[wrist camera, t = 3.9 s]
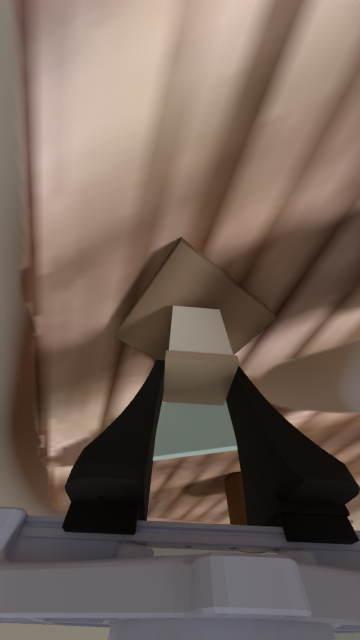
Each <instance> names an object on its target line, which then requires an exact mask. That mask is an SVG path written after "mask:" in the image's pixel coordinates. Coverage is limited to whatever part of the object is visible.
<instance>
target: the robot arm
mask: <svg viewBox="0 0 360 640" xmlns="http://www.w3.org/2000/svg"><path fill="white" fill-rule="evenodd" d="M164 376H165V360H156V361H155V364H154V366H153V368H152V370H151V372H150V374H149V376H148V378H147V379H146V381H145V383H144V384H143V386H142V387H141V389H140V390H139V392H138V393H137V394H136V396H135V397H134V399H133V400H132V401H131V402H130V404H129V405H128V406H127V407H126V408H125V410H124V411H123V412H122V413H121V414H120V415H119V416H118V417H117V418H116V419H115V421H114V422H112V423H111V424H110V425H109V426H108V427H107V428H106V429H105V430H104V431H103V432H102V433H101V434H100V435H99V436H98V437H97V438H96V439H94V440H93V441H92V442H91V443H90V444H89V445H87V446H86V447H85V448H84V449H83V451H82V452H81V454H80V455H79V457H78V459H77V461H76V462H75V464H74V466H73V468H72V470H71V473H70V475H69V477H68V480H67V482H66V485H65V490H66V493H67V494H68V496H69V498H70V500H71V504H70V507H69V509H68V512H67V515H66V517H56V516H35V515H27V512H26V511H25V510H24V509H21V508H16V507H0V623H22V624H44V625H47V624H48V625H68V626H90V627H110V631H109V637H108V640H336V638H335V635H334V633H360V531H355V530H354V529H353V527H352V525H351V523H350V522H349V520H348V518H347V516H350V514H349V511H348V510H347V508H346V506H345V504H346V503H348V502H349V501H350V500H352V499H353V498H355V497H356V496H357V495H358V493H359V491H360V488H359V486H358V484H357V483H356V481H355V479H354V478H353V476H352V475H351V473H350V472H349V470H348V468H347V467H346V466H345V464H344V463H342V462H341V461H339V460H338V459H336V458H335V457H334V456H332V455H331V454H329V453H328V452H326V451H325V450H323V449H322V448H321V447H319V446H318V445H317V444H315V443H314V442H313V441H311V440H310V439H309V438H307V437H306V436H305V435H304V434H302V433H301V432H300V431H299V430H298V429H296V428H295V427H294V426H293V425H292V424H291V423H290V422H288V421H287V420H286V419H285V418H284V417H283V416H282V415H281V414H280V413H279V412H278V411H277V410H276V409H275V408H274V407H273V406H272V405H271V404H270V403H269V402H268V401H267V400H266V399H265V398H264V396H263V395H262V394H261V393H260V392H259V391H258V389H257V388H256V387H255V386H254V384H253V383H252V382H251V381H250V379H249V378H248V377H247V376H246V374H245V373H244V372H243V370H242V369H241V368H240V367H239V366H238V368H237V371H236V374H235V376H234V379H233V381H232V384H231V386H230V389H229V392H228V395H227V397H226V403H227V407H228V411H229V414H230V418H231V422H232V426H233V430H234V433H235V438H236V443H237V449H238V455H239V461H240V468H241V475H242V483H243V491H244V499H245V509H246V518H247V525H227V524H205V523H184V522H163V521H147V512H148V503H149V493H150V484H151V474H152V465H153V456H154V447H155V438H156V431H157V426H158V420H159V415H160V410H161V405H162V400H163V392H164ZM146 547H153V548H176V549H200V550H222V551H223V550H224V551H246V552H270V553H277V554H254V553H229V552H210V553H205V554H191V555H170V556H153V554H154V551H153V550H152V549H151V548H146Z"/></svg>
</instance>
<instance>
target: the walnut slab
mask: <svg viewBox="0 0 360 640" xmlns="http://www.w3.org/2000/svg"><path fill="white" fill-rule="evenodd" d="M173 306H184V307H195V308H207V309H219V310H220V313H221V316H222V319H223V323H224V326H225V329H226V332H227V336H228V339H229V342H230V346H231V349H232V352H233V355H234V354H235V353H237V352H238V351H239V350H240V349H241V348H242V347H244V346H245V345H246V344H247V343H248V342H249V341H251V340H252V339H253V338H254V337H255V336H256V335H258V334H259V333H260V332H261V331H262V330H263V329H265V328H266V327H267V326H268V325H269V324H270V323H272V322H273V321H274V320H275V319H276V317H275V315H274V314H273V313H272V312H271V311H270V310H269V308H268V307H267V306H266V305H265V304H263V303H262V302H261V301H260V300H258V299H257V298H256V297H255V296H253V295H252V294H251V293H250V292H249V291H247V290H246V289H245V288H244V287H242V286H241V285H240V284H239V283H237V282H236V281H235V280H234V279H233V278H231V277H230V276H229V275H228V274H226V273H225V272H224V271H223V270H221V269H220V268H219V267H218V266H216V265H215V264H214V263H213V262H212V261H210V260H209V259H208V258H207V257H205V256H204V255H203V254H202V253H200V252H199V251H198V250H197V249H195V248H194V247H193V246H192V245H191V244H189V243H188V242H187V241H186V240H184V239H183V238H182V237H181V238H180V239H179V241H178V242H177V244H176V245H175V247H174V248H173V250H172V251H171V252H170V254H169V255H168V257H167V258H166V260H165V261H164V263H163V264H162V265H161V267H160V268H159V270H158V271H157V273H156V274H155V276H154V277H153V278H152V280H151V281H150V283H149V284H148V286H147V287H146V289H145V290H144V292H143V293H142V294H141V296H140V297H139V299H138V300H137V302H136V303H135V305H134V306H133V307H132V309H131V310H130V312H129V313H128V315H127V316H126V318H125V319H124V320H123V322H122V323H121V325H120V327H119V329H118V331H117V333H116V335H115V338H117V339H119V340H121V341H122V342H124V343H126V344H128V345H130V346H132V347H133V348H135V349H137V350H139V351H141V352H143V353H144V354H146V355H148V356H150V357H152V358H154V359H155V360H165V357H166V350H169V343H170V332H171V322H172V312H173Z"/></svg>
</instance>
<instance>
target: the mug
mask: <svg viewBox="0 0 360 640" xmlns="http://www.w3.org/2000/svg"><path fill="white" fill-rule="evenodd" d="M225 490H226V496H227V504H228V511H229V517H230V524H231V525H247V518H246V509H245V499H244V491H243V483H242V475H241V472H238V473H234V474H231V475H229V476H228V477H227V478H226V480H225ZM240 552H245V553H266V552H246V551H240Z"/></svg>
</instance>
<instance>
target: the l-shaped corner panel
mask: <svg viewBox="0 0 360 640" xmlns="http://www.w3.org/2000/svg"><path fill="white" fill-rule="evenodd" d="M232 450H238V449H237V443H236V438H235V433H234V430H233V426H232V422H231V418H230V414H229V411H228V407H227V403H226V401H225V403H224V406H218V405H203V404H189V403H174V402H166V403H162V405H161V410H160V415H159V420H158V426H157V431H156V438H155V447H154V456H153V461H155V460H162V459H170V458H178V457H186V456H193V455H201V454H209V453H216V452H224V451H232Z"/></svg>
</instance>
